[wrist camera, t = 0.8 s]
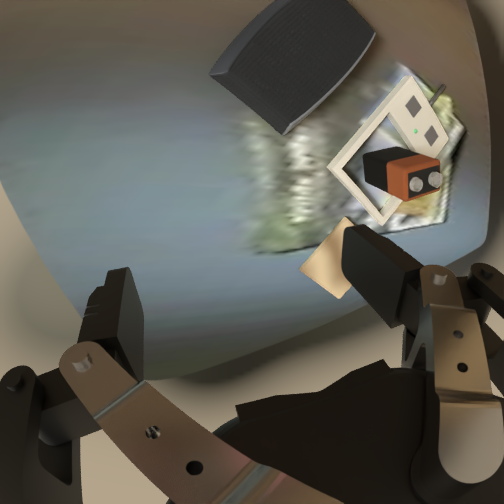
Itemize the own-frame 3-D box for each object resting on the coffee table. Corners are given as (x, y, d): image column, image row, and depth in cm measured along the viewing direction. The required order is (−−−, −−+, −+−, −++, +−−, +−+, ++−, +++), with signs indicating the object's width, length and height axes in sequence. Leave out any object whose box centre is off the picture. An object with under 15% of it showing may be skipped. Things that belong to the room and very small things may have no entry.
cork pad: (344, 216, 43) (346, 217, 42) (377, 251, 48) (380, 253, 47) (299, 268, 45) (300, 270, 44) (337, 297, 49) (339, 299, 49)
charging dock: (423, 53, 34) (432, 52, 32) (458, 114, 40) (466, 115, 39) (326, 167, 39) (333, 170, 37) (376, 222, 45) (383, 226, 43)
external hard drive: (371, 43, 32) (390, 40, 29) (285, 139, 36) (298, 144, 33) (305, -25, 26) (319, -35, 23) (202, 71, 30) (206, 66, 26)
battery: (398, 172, 42) (445, 193, 34) (363, 182, 41) (409, 206, 33) (397, 145, 40) (446, 161, 31) (360, 153, 39) (409, 170, 30)
